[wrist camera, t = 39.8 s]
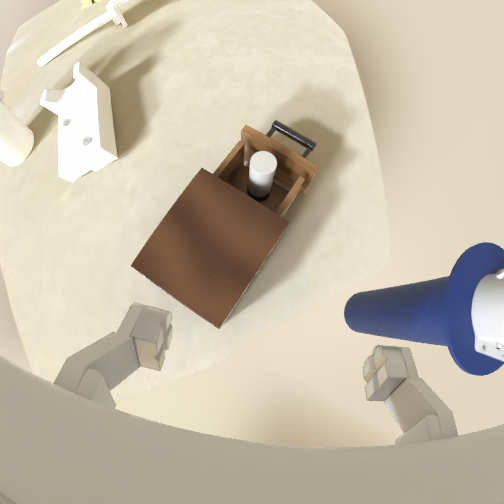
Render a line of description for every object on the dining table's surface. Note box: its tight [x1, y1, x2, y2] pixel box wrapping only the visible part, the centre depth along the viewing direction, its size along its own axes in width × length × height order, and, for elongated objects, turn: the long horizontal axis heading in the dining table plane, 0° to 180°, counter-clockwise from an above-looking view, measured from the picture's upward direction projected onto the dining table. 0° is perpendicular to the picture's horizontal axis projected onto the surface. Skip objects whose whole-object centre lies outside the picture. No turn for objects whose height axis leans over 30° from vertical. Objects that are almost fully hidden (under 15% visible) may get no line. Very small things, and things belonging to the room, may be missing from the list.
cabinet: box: [131, 168, 289, 329], centre depth 38 cm, size 15×13×10 cm
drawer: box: [213, 120, 319, 217], centre depth 41 cm, size 18×11×8 cm, turn 147°
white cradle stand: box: [40, 61, 118, 182], centre depth 41 cm, size 18×10×10 cm, turn 19°
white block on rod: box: [37, 0, 129, 67], centre depth 49 cm, size 9×9×32 cm
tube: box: [247, 151, 277, 201], centre depth 39 cm, size 3×3×9 cm
